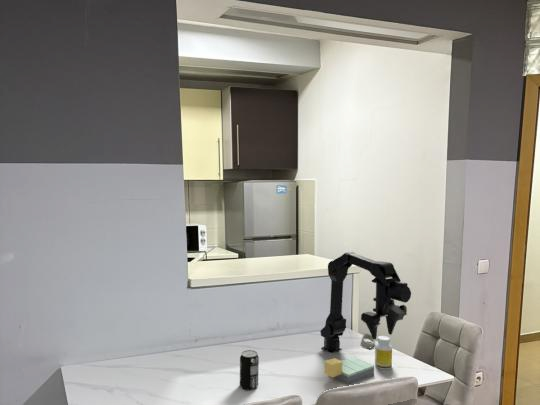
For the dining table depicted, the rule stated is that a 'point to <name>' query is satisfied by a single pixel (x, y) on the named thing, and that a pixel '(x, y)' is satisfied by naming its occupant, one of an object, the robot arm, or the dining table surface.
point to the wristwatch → (365, 344)
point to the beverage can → (249, 370)
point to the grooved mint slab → (346, 366)
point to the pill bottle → (383, 353)
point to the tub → (355, 376)
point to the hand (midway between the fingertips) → (382, 336)
